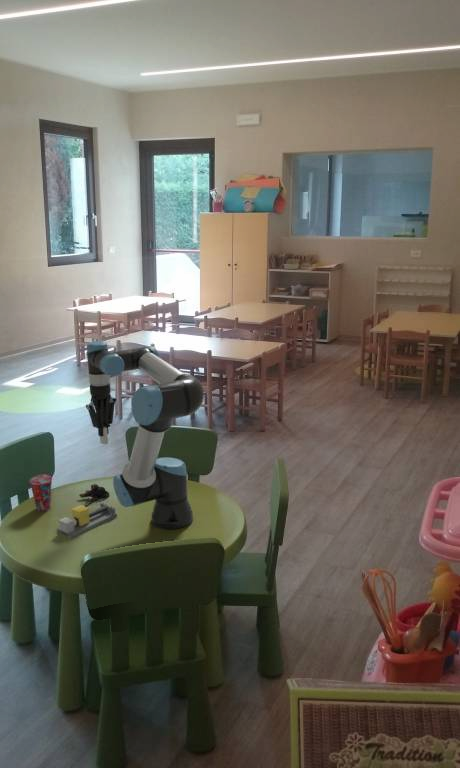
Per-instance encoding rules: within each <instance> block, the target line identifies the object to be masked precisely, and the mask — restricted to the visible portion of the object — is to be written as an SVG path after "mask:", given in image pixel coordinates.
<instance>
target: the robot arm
mask: <svg viewBox="0 0 460 768" xmlns="http://www.w3.org/2000/svg"><path fill="white" fill-rule="evenodd" d="M86 355H87V369H88V379H89V380H88V381H89V382H88V383H89V384H90V385H89V394H90V397H91V398H90V402H89V403H88V404H86V405H85V408H86V409H87V411H88V414H89V417H90V420H91V424H92V426H93V428H96V429H97V433H98V436H99V439H100V440H99V441H100V443H99V444H102V445H105V446H106V445H108V444H109V439H108V438H109V437H108V435H109V433H110V432H109V428H110V427H111V424H113V420H114V414H115V413H114V412H115V406H116V405H115V404H116V402H117V398H115V397H113V396H112V395H111V392H112V391H111V389H112V388H111V377H118V376H119V375H121V374H122V373H124V372H129V371H135V370H139V371H141V372H142V373H144V374H145V375H147V376H148V377H149V378H151V379H152V380H153V381H155V382H157V383H156V384H148V385H145V386H142V387H139V388H137V389H136V390H135V392H134V394H133V395H132V398H131V406H132V408H131V412H132V416H133V419H134V421H135V422H136V423H137V425H138V428H137V431H136V434H135V435H136V436H135V438H134V443H133V445H132V451H131V455H130V458H129V462H127V464H125V465H124V467H123V468H122V471H121V472H122V473H120V474H118V473H117V475H114V477H113V479H112V484H113V488H114V489H113V490H114V492H115V496H116V498H117V500H118V502H119V504H120V505H121V506H123V507H124V508H129V507H135V506H138V505H141V504H145V503H148V502H149V503H150V502H152V501H154V502H155V503H154V505H153V511H152V512H151V523H152V525H153V526H154V527H157V528H160V529H164V530H176V529H181V528H184V527H187V526H189V525H190V524H191V523H193V520H194V513H193V509H192V508H191V507H192V506H191V504H190V502H189V499H188V480H187V479H188V473H187V466H186V464H185V462H184V461H182V459H179V458H176V457H175V458H174V457H167V456H166V457H159V453H160V450H161V445H162V442H163V439H164V435H165V432H167V431H169V430H170V429H171V427H172V426H173V422H174V420H175V419H178V418H179V419H180V418H184V417H188V416H190V415H192V414H193V415H194V414H195V412H197V411H198V410H199V409H200V408H201V406H202V404H203V402H204V399H205V390H204V389H205V388H204V386H203V385H202V382H201V381H200V380H199V379H198V378H196V377H195V376H194V375H192V374H191V373H187V372H185V373H184V372H182V371H181V370H179V369H178V368H176V367H174V365H172V364H170V363H168V362H167V361H165V360H163V359H162V358H161V357H160V356H159V352H158V350H157V348H156V347H155V346H142V347H136V348H131V349H125V350H119V351H109V348H108V343H107V342H106V341H92V342H89V343H87V344H86Z"/></svg>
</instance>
